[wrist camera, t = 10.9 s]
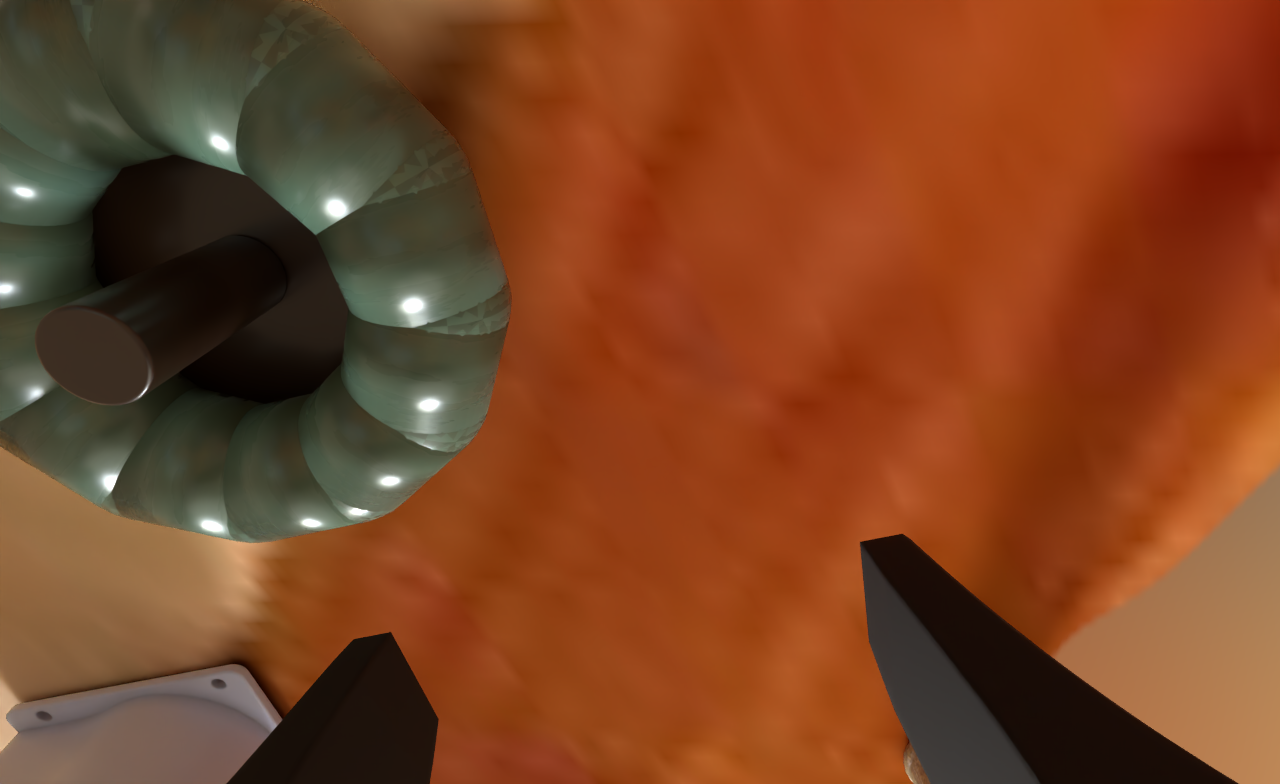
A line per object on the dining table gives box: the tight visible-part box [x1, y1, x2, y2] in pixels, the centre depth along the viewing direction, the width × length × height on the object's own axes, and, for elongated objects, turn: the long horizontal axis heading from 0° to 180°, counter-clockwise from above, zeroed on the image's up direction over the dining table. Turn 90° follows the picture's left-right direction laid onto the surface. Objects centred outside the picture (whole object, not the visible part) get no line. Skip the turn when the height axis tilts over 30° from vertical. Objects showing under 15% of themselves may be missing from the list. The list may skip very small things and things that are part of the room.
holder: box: [35, 155, 348, 405], centre depth 15 cm, size 9×9×6 cm
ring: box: [0, 0, 511, 543], centre depth 15 cm, size 13×13×4 cm
